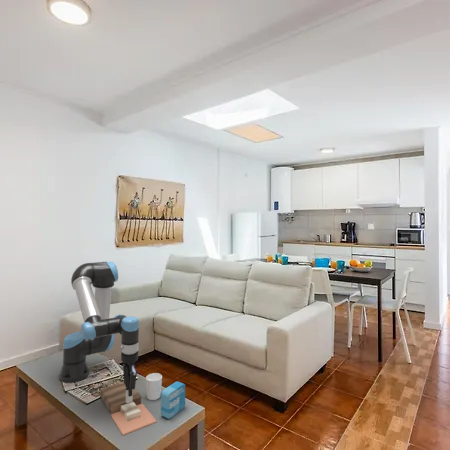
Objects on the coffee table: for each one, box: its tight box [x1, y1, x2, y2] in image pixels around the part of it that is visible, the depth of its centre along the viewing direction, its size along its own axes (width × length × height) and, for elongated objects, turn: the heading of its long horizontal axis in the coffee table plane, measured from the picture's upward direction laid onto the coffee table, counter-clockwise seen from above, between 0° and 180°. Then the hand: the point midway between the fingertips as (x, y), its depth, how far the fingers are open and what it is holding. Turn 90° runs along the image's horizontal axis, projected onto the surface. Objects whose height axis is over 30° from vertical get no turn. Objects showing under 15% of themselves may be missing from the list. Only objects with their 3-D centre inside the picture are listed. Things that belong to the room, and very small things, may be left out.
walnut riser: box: [99, 381, 142, 415], centre depth 158 cm, size 18×14×4 cm
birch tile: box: [121, 402, 141, 421], centre depth 147 cm, size 9×6×2 cm, turn 37°
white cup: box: [145, 372, 163, 401], centre depth 162 cm, size 8×8×10 cm
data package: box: [160, 381, 186, 420], centre depth 150 cm, size 12×4×12 cm, turn 147°
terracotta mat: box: [110, 403, 157, 436], centre depth 144 cm, size 16×15×1 cm
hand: (129, 401), depth 148 cm, fingers closed
